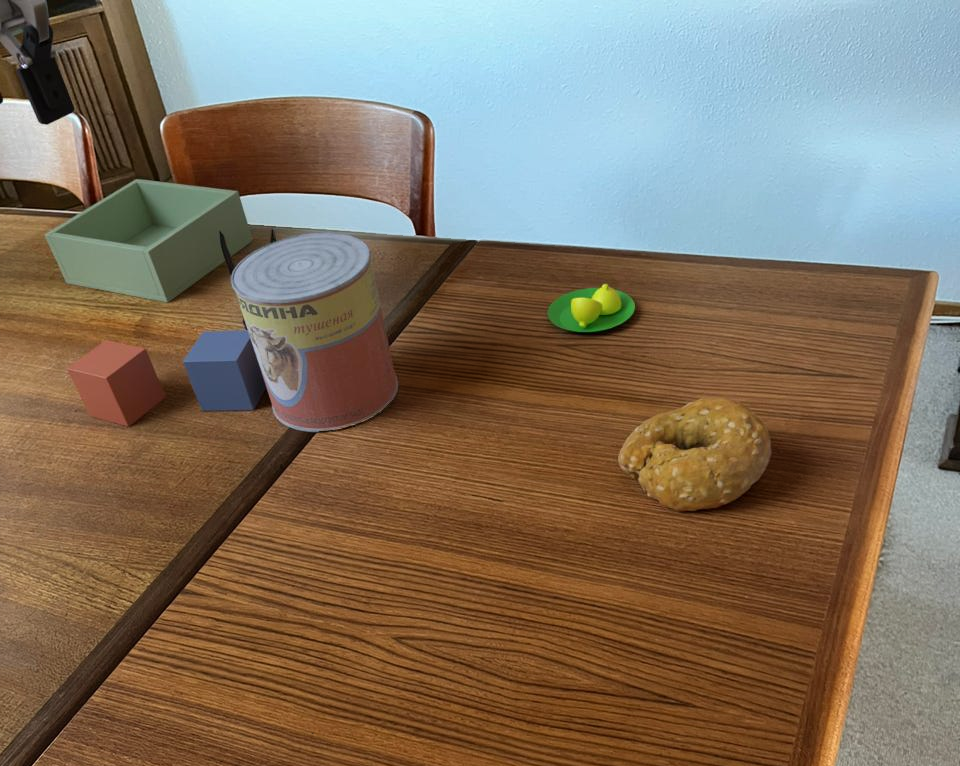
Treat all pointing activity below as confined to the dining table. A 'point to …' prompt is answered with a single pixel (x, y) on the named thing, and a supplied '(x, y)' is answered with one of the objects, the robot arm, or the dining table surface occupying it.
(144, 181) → the bin
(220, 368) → the slate-blue block
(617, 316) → the green plate with lemons
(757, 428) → the bagel
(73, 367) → the terracotta block
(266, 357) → the canned food
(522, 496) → the dining table surface
